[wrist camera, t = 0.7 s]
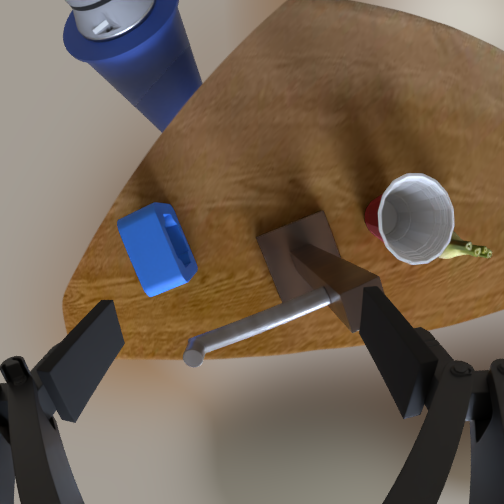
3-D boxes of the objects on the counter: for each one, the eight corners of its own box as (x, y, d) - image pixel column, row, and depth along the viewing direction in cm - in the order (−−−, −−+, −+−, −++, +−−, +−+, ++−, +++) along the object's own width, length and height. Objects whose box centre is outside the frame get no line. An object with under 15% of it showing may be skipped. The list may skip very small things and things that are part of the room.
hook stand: (225, 322, 45) (208, 429, 20) (198, 260, 44) (143, 316, 19) (344, 274, 44) (437, 333, 20) (320, 210, 43) (406, 207, 19)
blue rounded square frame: (168, 281, 44) (148, 299, 34) (141, 218, 43) (114, 219, 33) (198, 269, 44) (186, 284, 34) (171, 204, 43) (151, 201, 33)
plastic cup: (350, 175, 43) (384, 163, 31) (412, 187, 43) (457, 182, 31) (342, 249, 44) (374, 261, 32) (405, 256, 44) (448, 269, 32)
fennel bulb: (418, 241, 44) (464, 249, 32) (434, 218, 44) (481, 221, 32) (438, 264, 45) (483, 277, 33) (453, 241, 44) (499, 249, 32)
